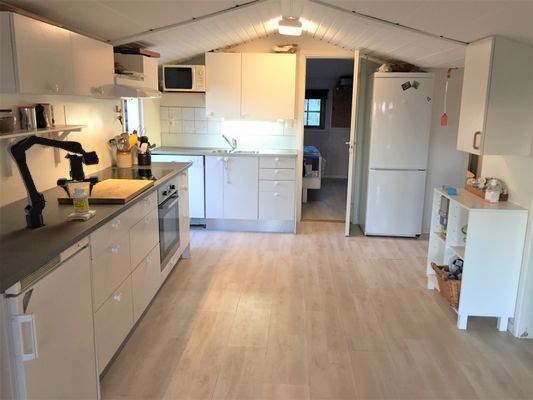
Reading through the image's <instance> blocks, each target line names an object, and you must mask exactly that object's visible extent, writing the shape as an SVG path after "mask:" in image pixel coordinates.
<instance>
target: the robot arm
mask: <svg viewBox="0 0 533 400" xmlns="http://www.w3.org/2000/svg"><path fill="white" fill-rule="evenodd" d="M34 145H40V146H44V147H45V146H46V147H50V148H57V149H61V150H63V151H66V152H69V153H66V155H65V156H63V157H64V159H66V160H69V168H70V169H69V177H70V179H68V178H67V177H61V178H58V179H57V180H56V186H57V187H60V188H62V189H63V190H64V192H65V193H66V195H67V197H68V198H69V200H71V199H72V198H71V197H72V196H71V192H70V189H69V188H70V187H69V184H80V183H81V184H83V183H89V186H88V190H89V191H88V192H89V193H88V196H89V198H91V197H92V193H93V188H94V186H96V185H97V184H99V182H100V178H99V176H98V175H94V176H89V178H86V174H85V171H84V166H83V165H85V166H87V167H88V166H95V165H99V163H100V159H99V156H98V154H97V151H95V150H91V151H86V150H85V149H84V148H83V146H82V144H81V142H79V141H75V140H58V139H53V138H48V137H42V136H38V135H35V134H29V135H28V136H26V137H24V138H22V139H20V140H18V141H16V142H11V143H9V144H8V145H7V147H6V150H7V153H8V155H9V156H10V158H11V159H12V160H13V162H14V163H15V165H16V167H17V171H18V172H19V175H20V178H21V180H22V183H23V185H24V187H25V191H26V193H27V194H26V195H27V196H26V197H27V203H28V204H27V205H26V206H25V207H24V208H23V211H24V213H26V214H25V223H26V225H25V226H24V228H26V229H37V228H41V227H45V226H46V223H45V221H44V216H43V210H44V209H45V207H46V203H47V200H46V199H45V196H44V193H43V192H41V191H38V190H37V187H36V184H35V182H34V179H33V177H32V174H31V171H30V168H29V166H28V164H27V153H26V152H27V151H28V150H30V149H31V148H32V147H33V146H34ZM70 153H72V154H70Z"/></svg>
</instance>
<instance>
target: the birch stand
mask: <svg viewBox="0 0 533 400" xmlns="http://www.w3.org/2000/svg"><path fill="white" fill-rule="evenodd" d="M97 214H98V210H97V209H96V210H95V209H94V210H91V209H89V213H87V214H84V215H77V214H75V211H74V212H72V213H71V214H69V215H68V216H66V220H68V221H69V222H70V221H73V220H83V221H86V222H87V221H88V220H90V219H91V218H93V217H94V216H96V215H97Z"/></svg>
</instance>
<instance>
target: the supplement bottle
mask: <svg viewBox="0 0 533 400" xmlns="http://www.w3.org/2000/svg"><path fill="white" fill-rule="evenodd" d="M73 190H74V193H73V195H72V199H73V200H72V202H73V209H74V210H73V211H74V212H75V214H77V215H84V214H87V213H89V210H90V207H89V201H88V200H89V199H88V193H86V192H85V190H86V189H85V187H83V186H82V187H76V188H74V189H73Z"/></svg>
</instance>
